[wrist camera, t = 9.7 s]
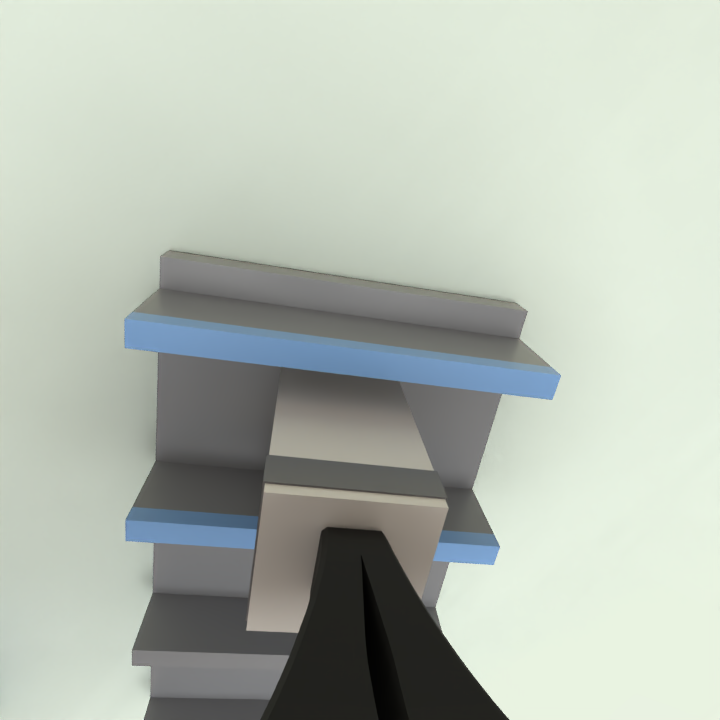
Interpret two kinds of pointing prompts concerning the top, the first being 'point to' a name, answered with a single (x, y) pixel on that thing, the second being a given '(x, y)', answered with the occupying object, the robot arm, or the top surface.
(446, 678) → the robot arm
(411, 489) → the beige block
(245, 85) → the top surface
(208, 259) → the grey slotted rack
